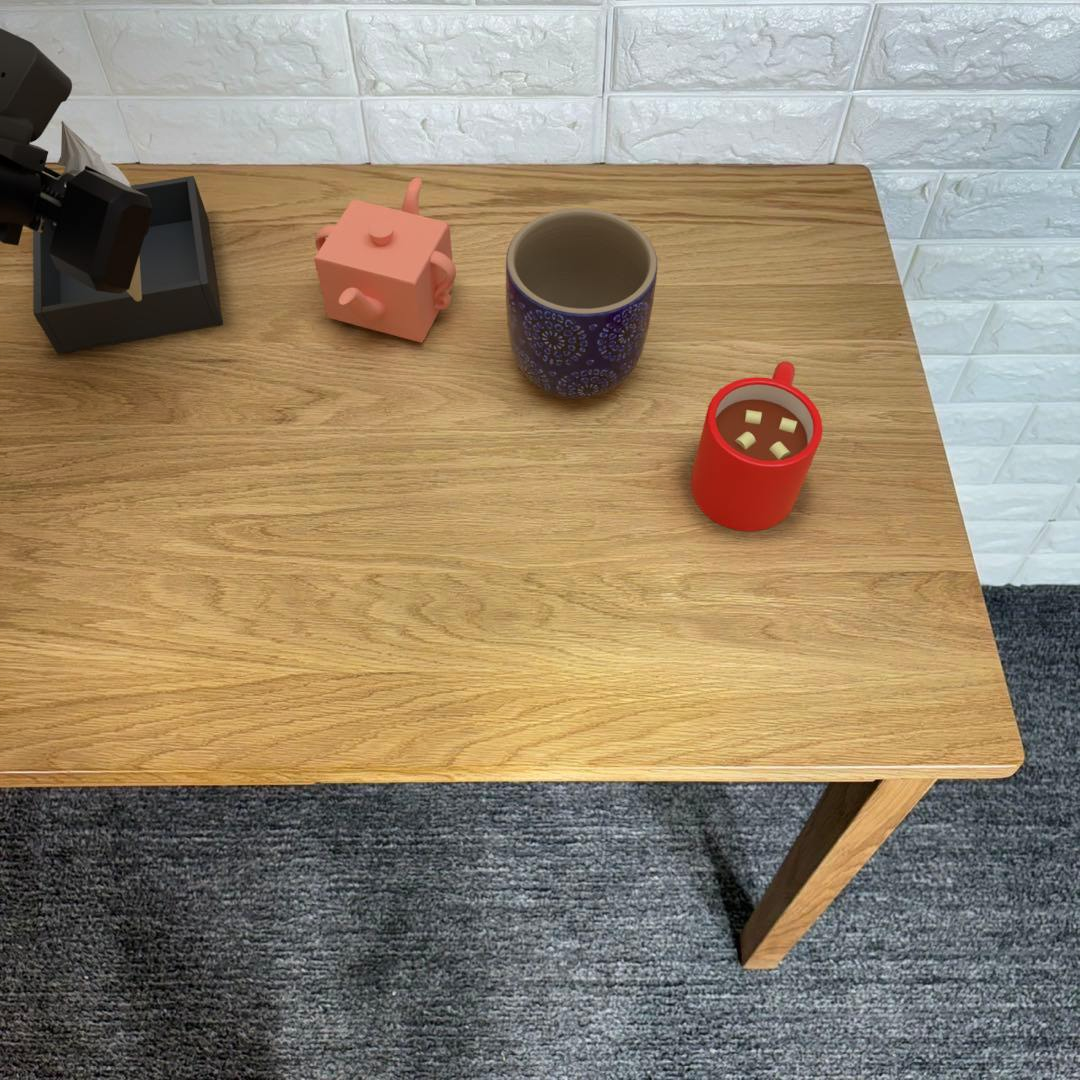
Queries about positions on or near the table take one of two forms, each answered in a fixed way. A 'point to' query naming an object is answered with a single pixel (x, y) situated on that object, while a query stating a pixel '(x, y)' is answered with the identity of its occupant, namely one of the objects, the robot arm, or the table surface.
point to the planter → (579, 300)
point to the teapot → (386, 267)
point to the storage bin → (166, 279)
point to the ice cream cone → (82, 155)
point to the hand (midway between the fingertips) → (119, 212)
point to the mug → (755, 451)
